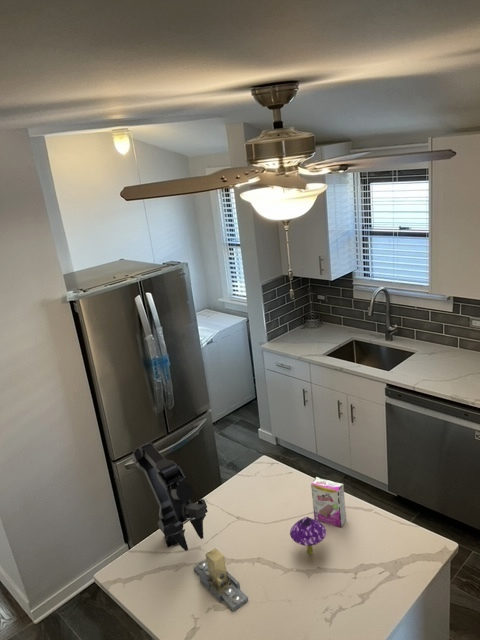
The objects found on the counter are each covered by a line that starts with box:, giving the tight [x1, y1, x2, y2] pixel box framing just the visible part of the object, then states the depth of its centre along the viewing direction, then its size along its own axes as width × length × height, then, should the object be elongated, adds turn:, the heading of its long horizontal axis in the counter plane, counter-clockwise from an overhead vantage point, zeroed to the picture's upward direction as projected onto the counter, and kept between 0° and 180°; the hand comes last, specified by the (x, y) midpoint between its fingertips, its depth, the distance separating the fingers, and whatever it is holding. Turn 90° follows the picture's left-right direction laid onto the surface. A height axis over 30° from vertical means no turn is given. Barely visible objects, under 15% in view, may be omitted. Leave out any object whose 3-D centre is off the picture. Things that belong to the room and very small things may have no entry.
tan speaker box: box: [205, 547, 230, 592], centre depth 171 cm, size 5×4×12 cm
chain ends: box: [193, 559, 249, 612], centre depth 173 cm, size 23×8×2 cm, turn 37°
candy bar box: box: [310, 476, 347, 528], centre depth 194 cm, size 11×5×16 cm, turn 58°
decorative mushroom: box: [289, 516, 327, 555], centre depth 179 cm, size 12×12×15 cm
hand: (194, 544), depth 177 cm, fingers open, 9 cm apart
